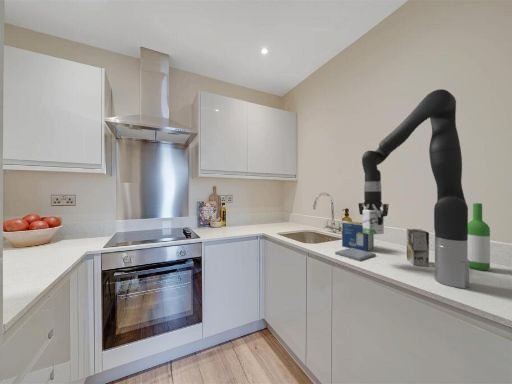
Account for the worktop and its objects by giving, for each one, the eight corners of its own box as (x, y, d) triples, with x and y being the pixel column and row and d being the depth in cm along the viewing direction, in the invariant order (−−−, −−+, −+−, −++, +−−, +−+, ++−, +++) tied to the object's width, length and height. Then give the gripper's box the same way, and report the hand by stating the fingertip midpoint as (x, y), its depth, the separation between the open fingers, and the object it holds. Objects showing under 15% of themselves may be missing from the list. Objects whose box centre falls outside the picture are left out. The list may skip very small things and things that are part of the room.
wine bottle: (488, 272, 89) (488, 204, 89) (463, 267, 96) (463, 203, 96) (491, 269, 94) (491, 203, 94) (467, 263, 100) (467, 202, 100)
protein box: (349, 243, 139) (349, 220, 139) (373, 248, 127) (374, 223, 127) (341, 246, 132) (341, 222, 132) (366, 251, 120) (366, 225, 120)
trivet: (375, 255, 112) (375, 253, 112) (359, 261, 104) (359, 258, 104) (351, 249, 124) (351, 247, 124) (335, 254, 115) (335, 251, 115)
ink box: (369, 234, 100) (369, 210, 100) (362, 232, 104) (362, 209, 104) (384, 233, 101) (384, 210, 101) (376, 232, 106) (376, 209, 106)
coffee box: (429, 266, 96) (429, 232, 96) (413, 265, 98) (413, 231, 98) (421, 260, 105) (421, 229, 105) (406, 259, 107) (406, 228, 107)
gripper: (391, 190, 99) (392, 225, 99) (362, 191, 111) (362, 221, 111) (384, 190, 95) (384, 226, 95) (354, 190, 107) (355, 223, 107)
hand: (372, 223), depth 103 cm, fingers closed on ink box, 6 cm apart
